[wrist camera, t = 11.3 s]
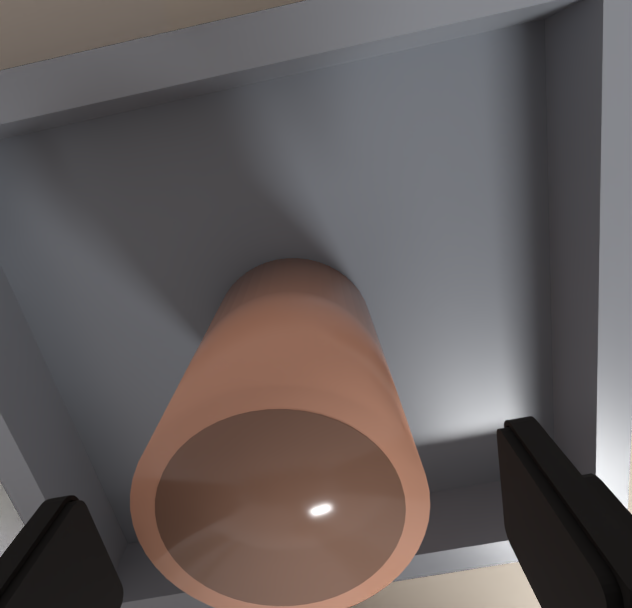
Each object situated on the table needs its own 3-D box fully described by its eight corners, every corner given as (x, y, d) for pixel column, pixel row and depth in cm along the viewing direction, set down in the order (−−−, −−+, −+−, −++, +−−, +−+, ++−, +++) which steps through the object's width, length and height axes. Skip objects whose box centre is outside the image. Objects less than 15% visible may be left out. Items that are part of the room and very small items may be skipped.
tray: (570, 473, 21) (626, 544, 18) (120, 548, 23) (82, 631, 19) (566, -25, 15) (655, -80, 11) (-79, 120, 16) (-200, 116, 12)
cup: (382, 386, 19) (445, 598, 10) (238, 412, 19) (181, 640, 10) (357, 243, 16) (410, 357, 8) (196, 275, 17) (82, 419, 8)
